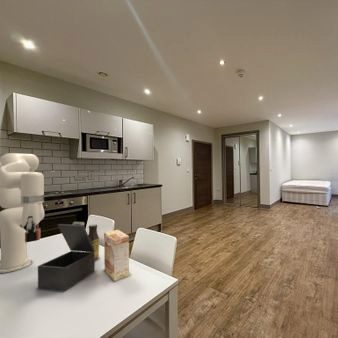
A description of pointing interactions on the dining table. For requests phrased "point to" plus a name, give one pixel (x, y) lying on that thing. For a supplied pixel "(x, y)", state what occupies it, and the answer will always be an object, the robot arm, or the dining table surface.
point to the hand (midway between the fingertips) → (32, 239)
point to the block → (37, 234)
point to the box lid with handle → (76, 237)
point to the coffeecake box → (116, 254)
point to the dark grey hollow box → (66, 270)
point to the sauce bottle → (94, 239)
